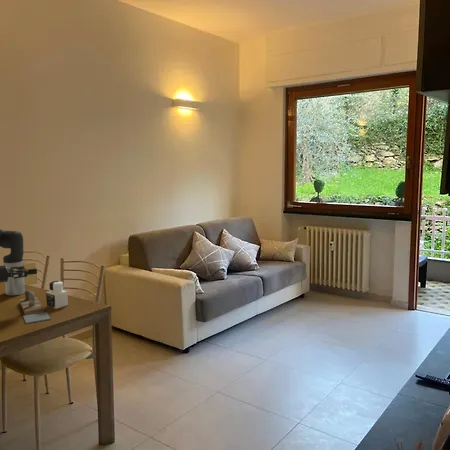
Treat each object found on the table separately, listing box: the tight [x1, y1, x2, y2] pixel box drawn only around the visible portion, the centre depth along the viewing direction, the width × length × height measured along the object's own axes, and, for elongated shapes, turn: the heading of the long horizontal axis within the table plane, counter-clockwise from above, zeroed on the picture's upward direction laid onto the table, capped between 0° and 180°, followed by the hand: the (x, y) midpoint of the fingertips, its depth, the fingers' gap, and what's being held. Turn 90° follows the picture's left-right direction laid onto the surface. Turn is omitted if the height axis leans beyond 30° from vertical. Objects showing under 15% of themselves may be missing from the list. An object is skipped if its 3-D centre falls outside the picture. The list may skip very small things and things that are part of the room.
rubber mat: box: [22, 311, 51, 324], centre depth 206 cm, size 10×10×1 cm
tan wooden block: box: [23, 260, 38, 286], centre depth 216 cm, size 5×5×10 cm
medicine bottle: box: [45, 280, 69, 310], centre depth 222 cm, size 7×7×12 cm
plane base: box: [19, 289, 45, 316], centre depth 220 cm, size 20×8×8 cm, turn 30°
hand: (35, 269), depth 217 cm, fingers closed on tan wooden block, 5 cm apart
